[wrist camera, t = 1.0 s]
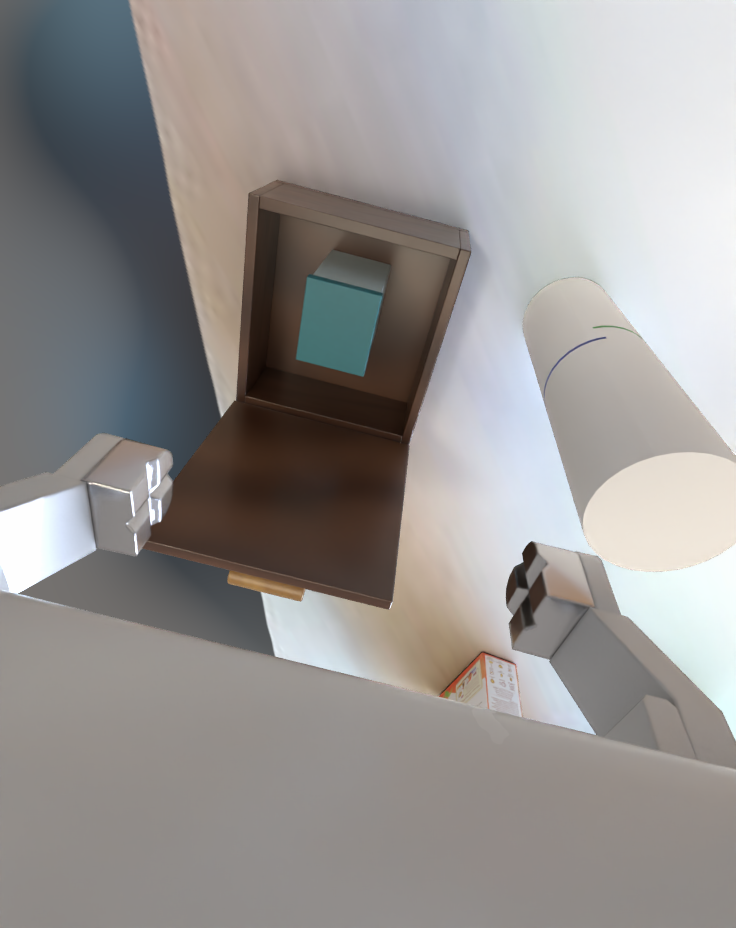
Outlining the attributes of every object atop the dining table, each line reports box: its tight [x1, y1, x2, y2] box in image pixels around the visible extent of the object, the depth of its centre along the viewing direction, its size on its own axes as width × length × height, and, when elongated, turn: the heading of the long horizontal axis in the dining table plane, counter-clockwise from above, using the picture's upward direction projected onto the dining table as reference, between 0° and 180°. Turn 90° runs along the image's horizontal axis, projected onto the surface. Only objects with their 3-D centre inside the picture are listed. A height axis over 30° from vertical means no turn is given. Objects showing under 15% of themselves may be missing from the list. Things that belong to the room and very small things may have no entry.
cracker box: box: [439, 652, 523, 717], centre depth 67 cm, size 14×6×21 cm, turn 158°
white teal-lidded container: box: [296, 250, 391, 377], centre depth 39 cm, size 6×5×8 cm
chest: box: [236, 180, 471, 445], centre depth 42 cm, size 17×16×7 cm
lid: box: [142, 401, 409, 609], centre depth 38 cm, size 17×16×5 cm
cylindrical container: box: [523, 277, 736, 572], centre depth 33 cm, size 7×7×25 cm
